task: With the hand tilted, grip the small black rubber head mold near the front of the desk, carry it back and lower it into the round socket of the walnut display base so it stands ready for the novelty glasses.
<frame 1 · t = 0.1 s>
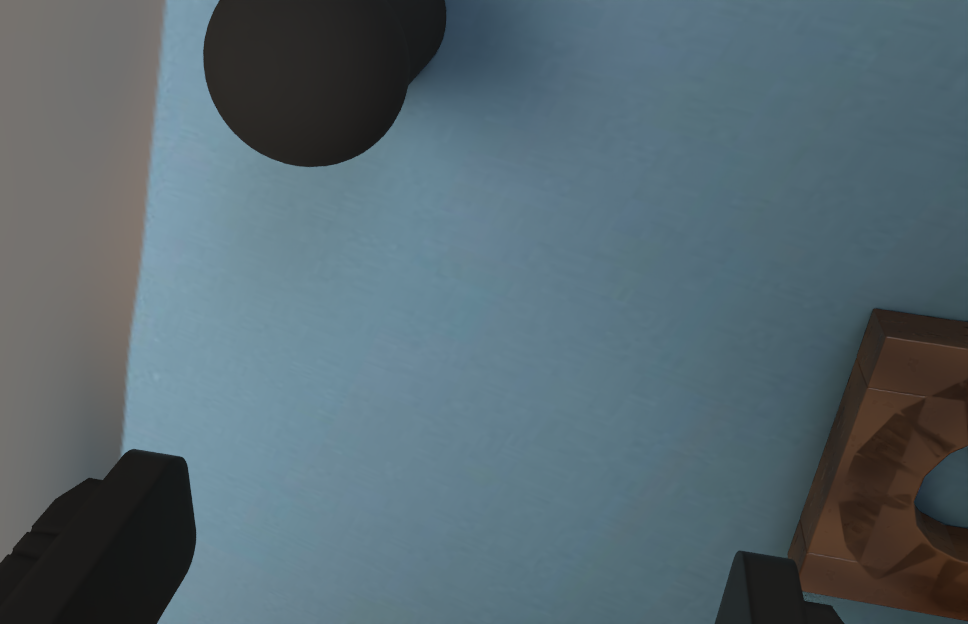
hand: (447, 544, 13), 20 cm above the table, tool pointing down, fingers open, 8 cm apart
head mold: (380, 12, 29), on the table
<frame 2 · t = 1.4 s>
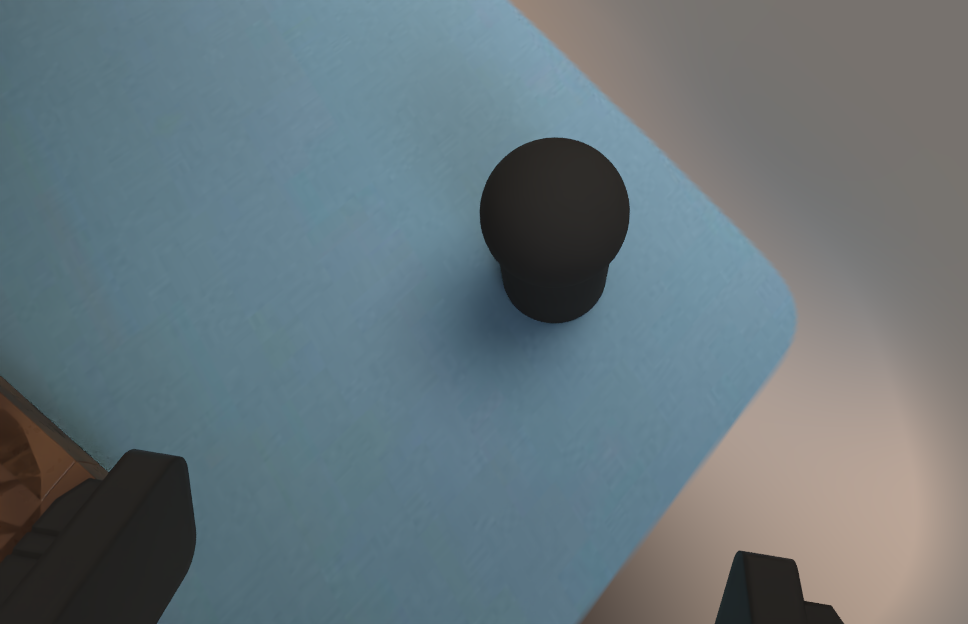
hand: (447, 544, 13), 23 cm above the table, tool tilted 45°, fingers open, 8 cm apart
head mold: (554, 273, 38), on the table
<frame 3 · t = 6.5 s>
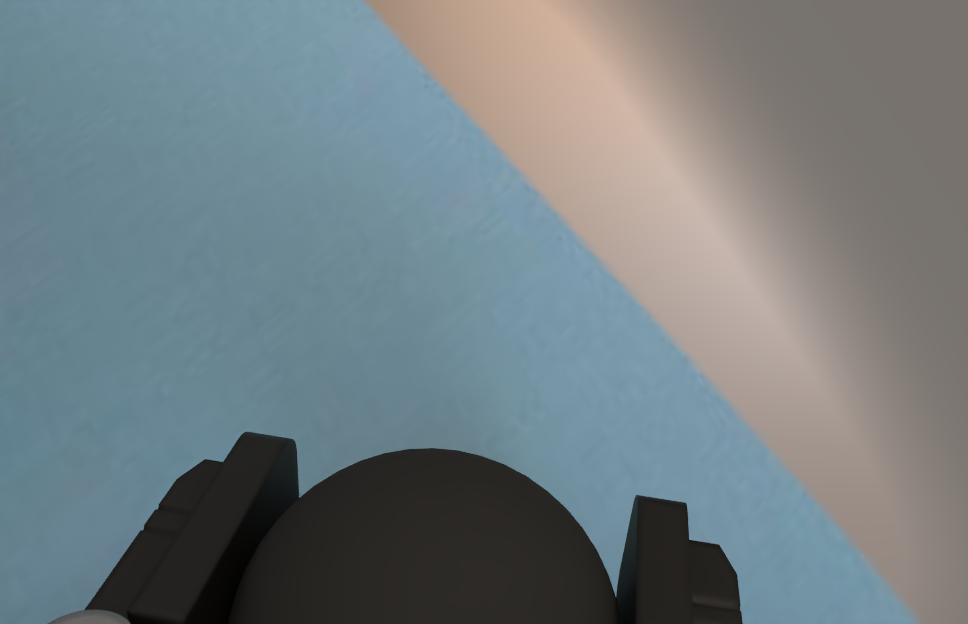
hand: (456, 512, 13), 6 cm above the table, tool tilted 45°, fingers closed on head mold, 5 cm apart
head mold: (468, 612, 18), on the table, touching gripper
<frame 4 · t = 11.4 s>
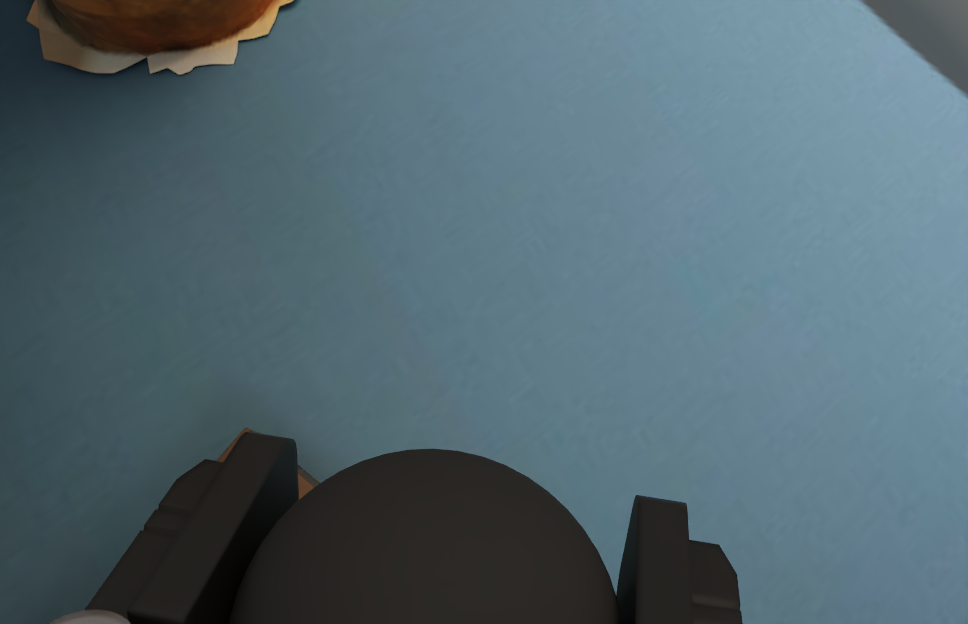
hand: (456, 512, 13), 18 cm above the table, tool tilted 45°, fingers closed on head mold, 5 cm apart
head mold: (468, 612, 18), point 13 cm above the table, touching gripper
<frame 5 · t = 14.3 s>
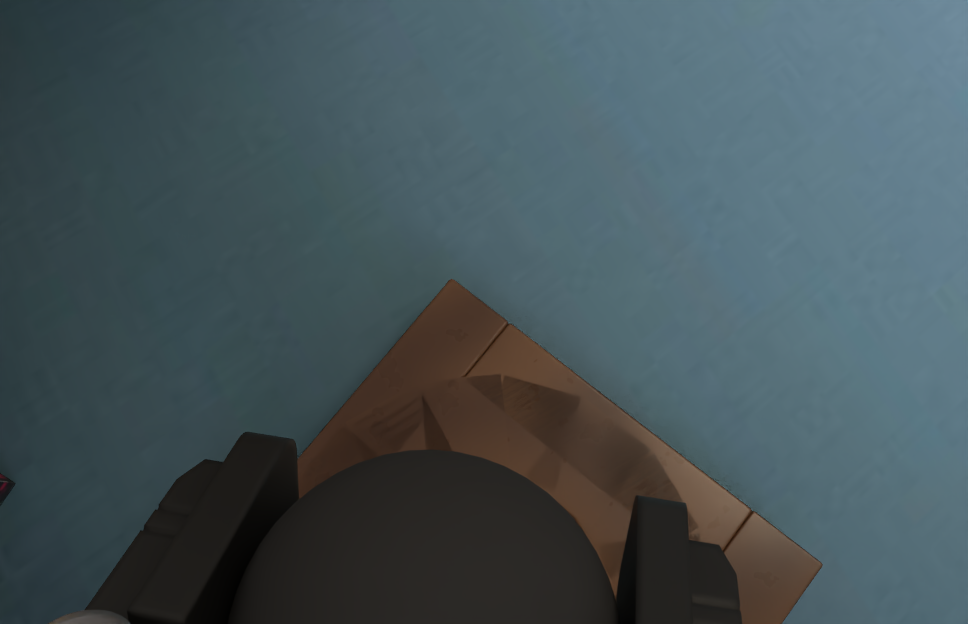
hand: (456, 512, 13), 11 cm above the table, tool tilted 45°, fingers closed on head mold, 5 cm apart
display base: (486, 595, 24), on the table
head mold: (467, 613, 18), point 6 cm above the table, touching gripper
when the fingers open (6 cm above the table, at t = 16.4 s): head mold stays where it is, resting in display base.
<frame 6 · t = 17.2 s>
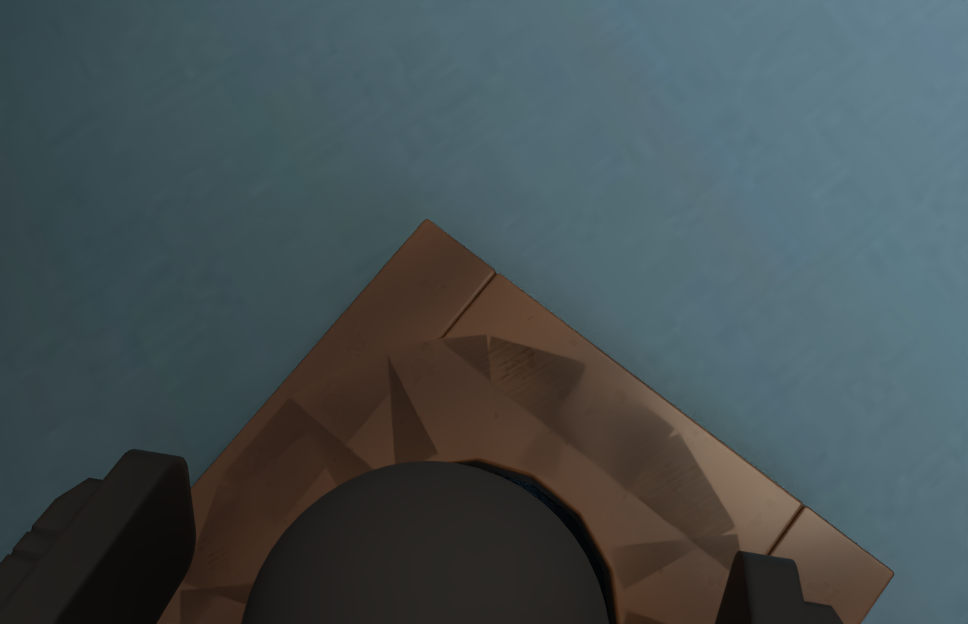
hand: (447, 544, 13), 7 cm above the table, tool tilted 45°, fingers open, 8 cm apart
display base: (468, 610, 19), on the table
head mold: (467, 614, 19), resting in display base
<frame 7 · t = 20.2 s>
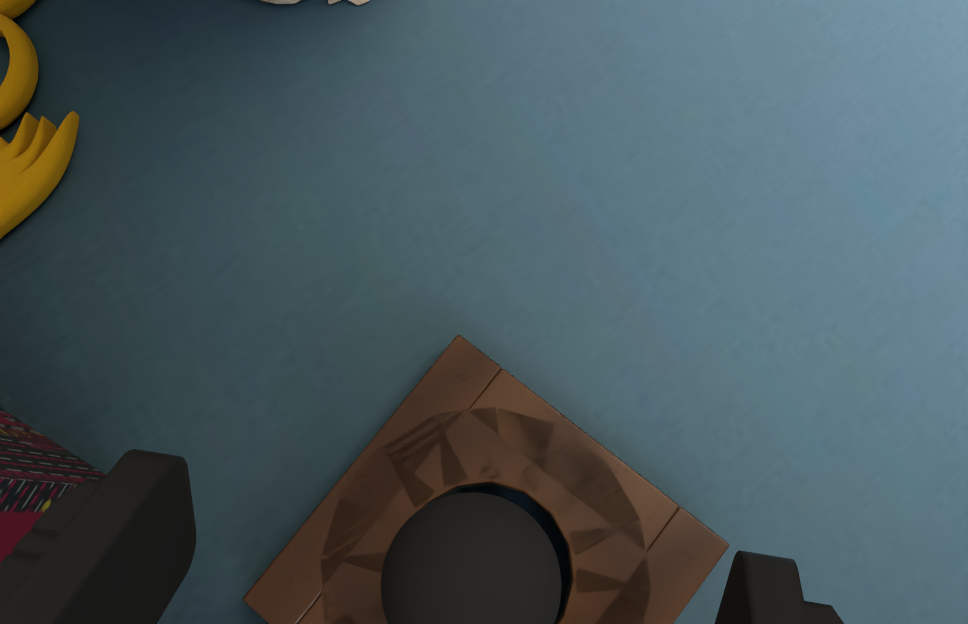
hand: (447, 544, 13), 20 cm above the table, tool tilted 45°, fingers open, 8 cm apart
display base: (486, 569, 32), on the table
head mold: (485, 571, 32), resting in display base
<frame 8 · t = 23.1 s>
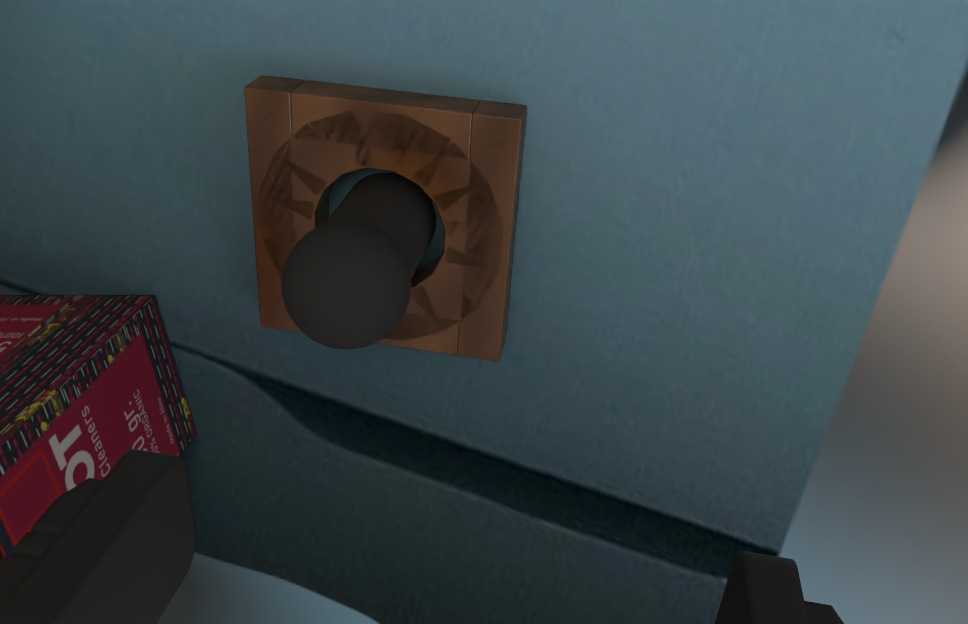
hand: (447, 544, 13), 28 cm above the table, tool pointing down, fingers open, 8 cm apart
display base: (390, 215, 42), on the table
head mold: (390, 216, 42), resting in display base
box: (44, 362, 50), on the table
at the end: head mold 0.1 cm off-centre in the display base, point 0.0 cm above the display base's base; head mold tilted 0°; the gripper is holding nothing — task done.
